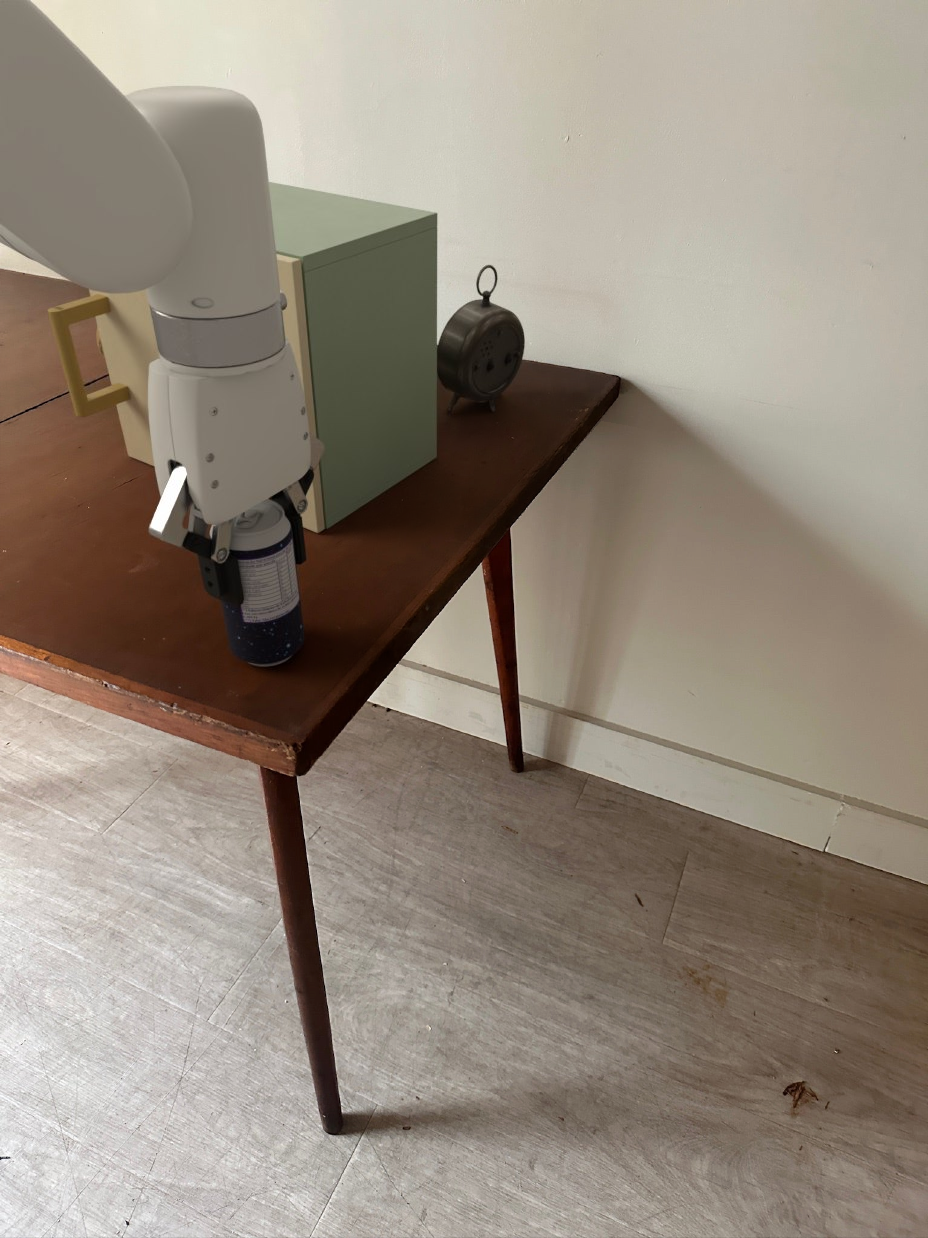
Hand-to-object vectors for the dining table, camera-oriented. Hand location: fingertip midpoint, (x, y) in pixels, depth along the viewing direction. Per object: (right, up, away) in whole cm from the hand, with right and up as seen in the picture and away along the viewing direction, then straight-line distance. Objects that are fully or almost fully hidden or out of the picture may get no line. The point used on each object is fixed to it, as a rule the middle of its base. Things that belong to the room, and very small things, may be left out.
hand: (257, 575), depth 63 cm
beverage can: (0, -6, +4) cm, 7 cm away
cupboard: (-4, +14, +30) cm, 33 cm away
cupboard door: (-11, +8, +21) cm, 25 cm away
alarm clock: (+17, +22, +41) cm, 50 cm away
